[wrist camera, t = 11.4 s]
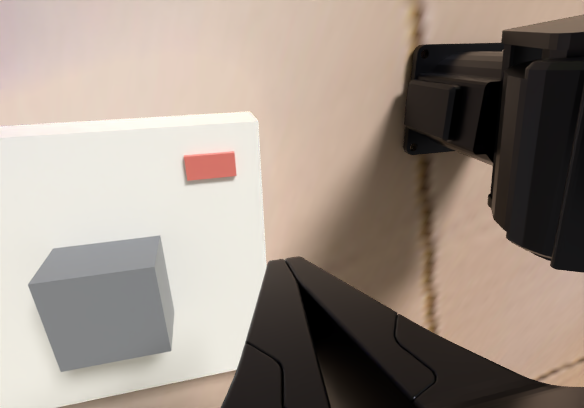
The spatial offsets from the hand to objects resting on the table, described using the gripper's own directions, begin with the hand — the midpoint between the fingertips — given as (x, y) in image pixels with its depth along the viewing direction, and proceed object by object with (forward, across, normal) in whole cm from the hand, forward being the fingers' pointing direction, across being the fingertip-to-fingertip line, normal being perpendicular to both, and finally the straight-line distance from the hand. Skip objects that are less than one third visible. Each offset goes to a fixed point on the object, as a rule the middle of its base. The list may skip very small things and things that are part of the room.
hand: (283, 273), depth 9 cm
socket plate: (+13, +7, +6) cm, 16 cm away
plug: (+13, +7, +6) cm, 16 cm away
